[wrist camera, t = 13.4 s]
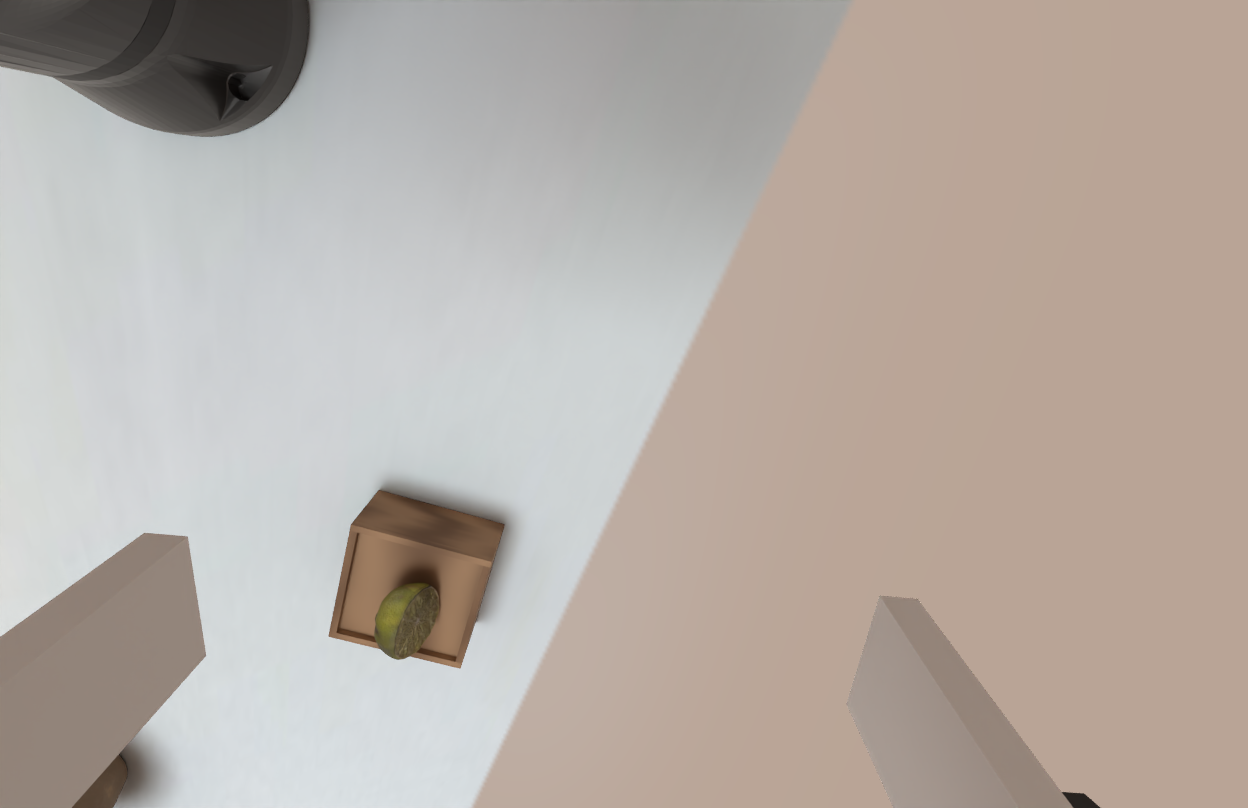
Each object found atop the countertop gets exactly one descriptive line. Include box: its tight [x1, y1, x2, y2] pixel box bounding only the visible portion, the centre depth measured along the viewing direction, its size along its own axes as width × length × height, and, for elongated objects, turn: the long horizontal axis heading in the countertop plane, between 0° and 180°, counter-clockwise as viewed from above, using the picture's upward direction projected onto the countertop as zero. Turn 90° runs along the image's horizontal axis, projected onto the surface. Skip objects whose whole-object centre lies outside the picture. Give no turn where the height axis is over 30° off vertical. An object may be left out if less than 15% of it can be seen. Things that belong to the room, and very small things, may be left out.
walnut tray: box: [329, 490, 505, 668], centre depth 46 cm, size 10×10×6 cm
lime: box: [374, 583, 439, 660], centre depth 41 cm, size 4×5×5 cm
